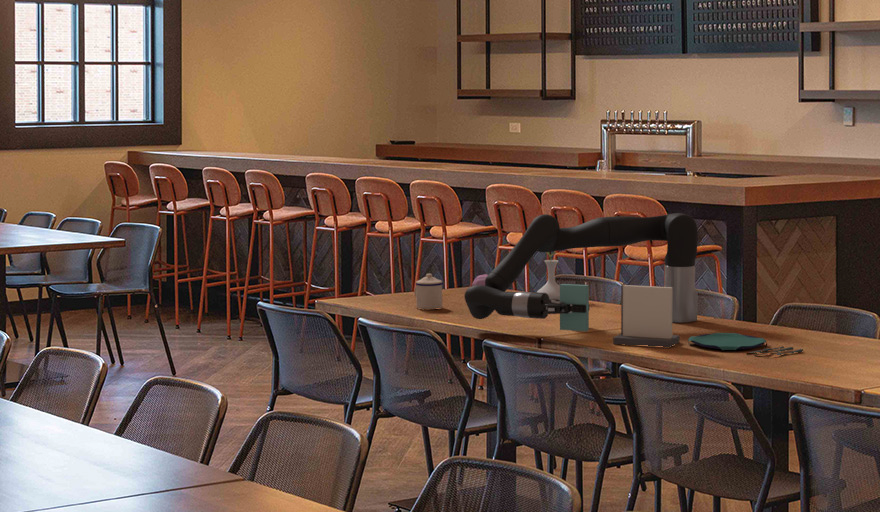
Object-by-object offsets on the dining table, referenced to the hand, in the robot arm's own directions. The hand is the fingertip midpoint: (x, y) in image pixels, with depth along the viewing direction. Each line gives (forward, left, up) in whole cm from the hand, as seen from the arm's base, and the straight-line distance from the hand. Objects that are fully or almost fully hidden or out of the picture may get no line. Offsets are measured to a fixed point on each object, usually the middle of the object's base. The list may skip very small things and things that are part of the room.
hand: (587, 308), depth 352 cm
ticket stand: (-13, +11, -9) cm, 19 cm away
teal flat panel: (+3, -3, -6) cm, 8 cm away
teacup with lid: (+28, -75, -9) cm, 80 cm away
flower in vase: (-18, -79, -9) cm, 81 cm away
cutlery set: (-34, +26, -10) cm, 44 cm away
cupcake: (+6, -79, -9) cm, 80 cm away
